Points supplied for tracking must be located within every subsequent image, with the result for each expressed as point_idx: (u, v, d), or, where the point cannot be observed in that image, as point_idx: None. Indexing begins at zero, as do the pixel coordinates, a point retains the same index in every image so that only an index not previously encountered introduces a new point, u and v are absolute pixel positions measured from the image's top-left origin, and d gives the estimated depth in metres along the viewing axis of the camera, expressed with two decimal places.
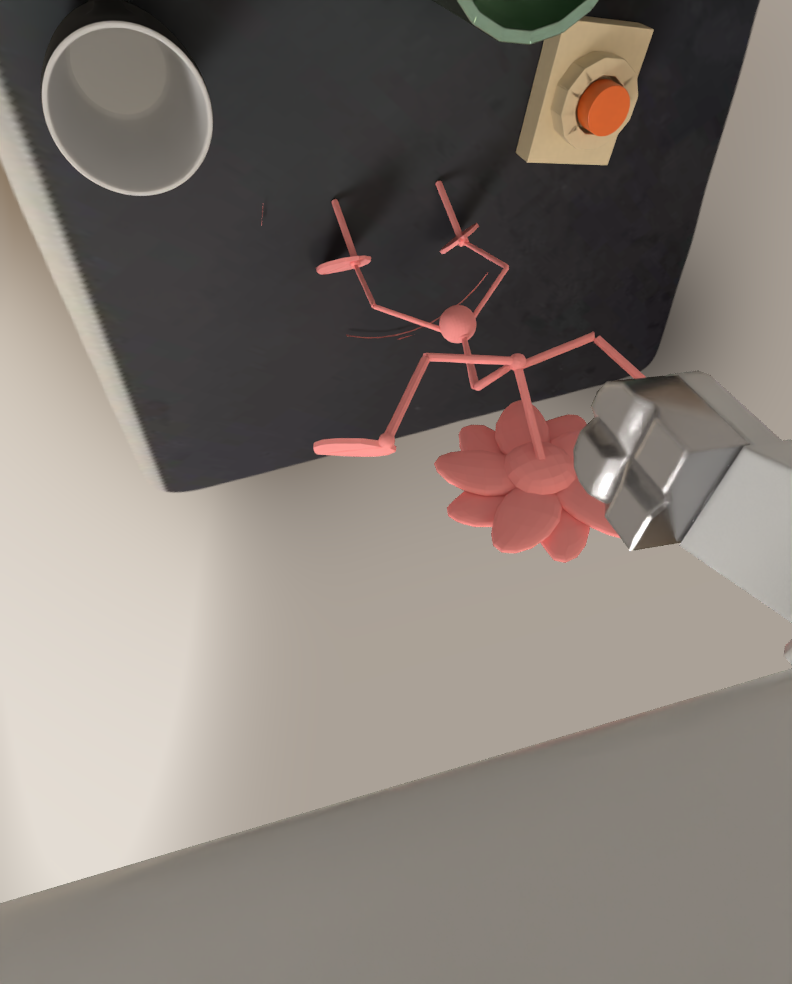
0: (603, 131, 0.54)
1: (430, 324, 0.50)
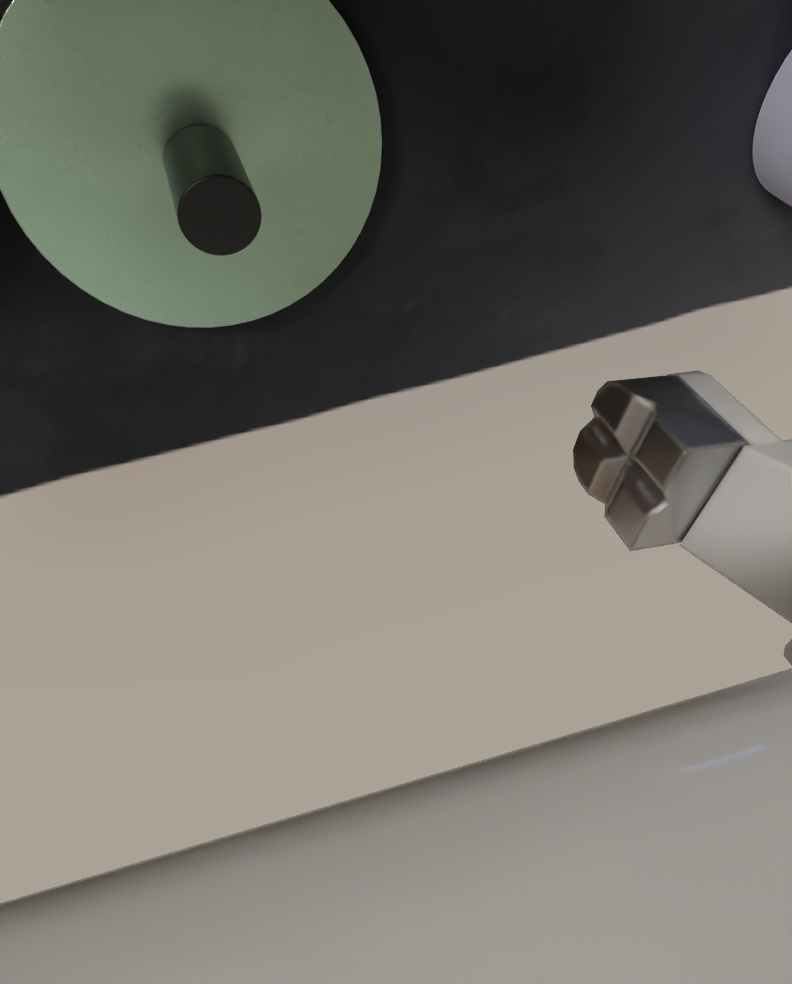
0: None
1: None
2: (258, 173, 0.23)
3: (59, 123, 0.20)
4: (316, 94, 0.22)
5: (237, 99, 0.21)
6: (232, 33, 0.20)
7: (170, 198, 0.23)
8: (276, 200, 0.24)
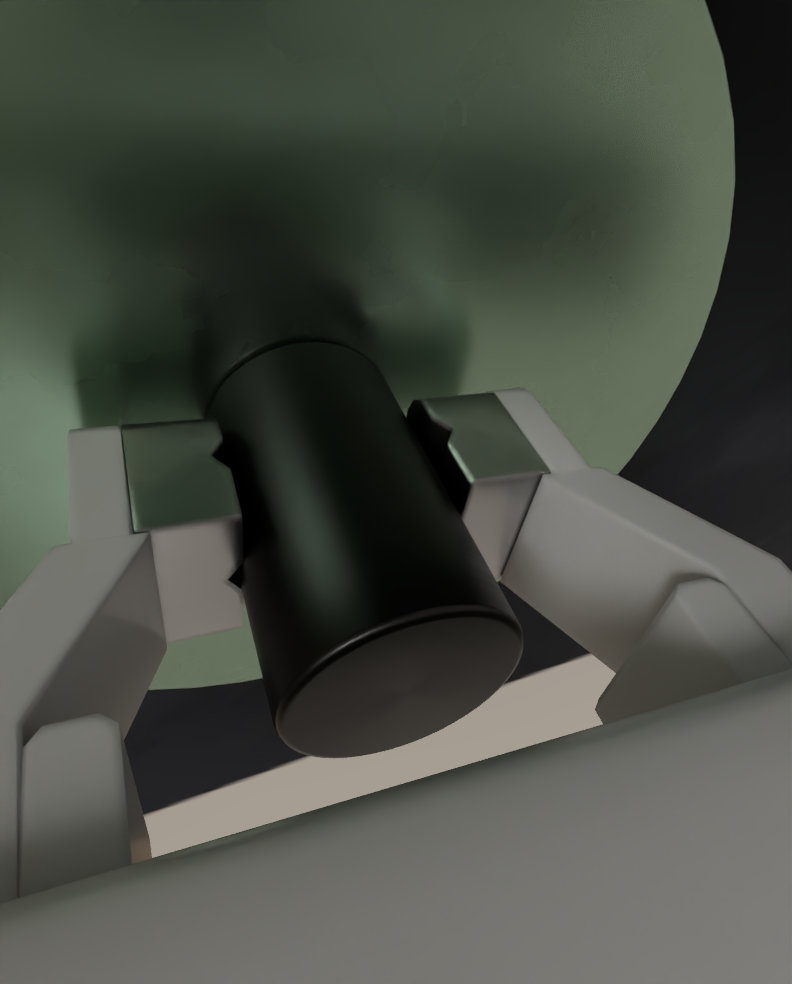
0: None
1: None
2: None
3: None
4: (601, 249, 0.09)
5: (409, 274, 0.08)
6: (428, 104, 0.07)
7: None
8: None
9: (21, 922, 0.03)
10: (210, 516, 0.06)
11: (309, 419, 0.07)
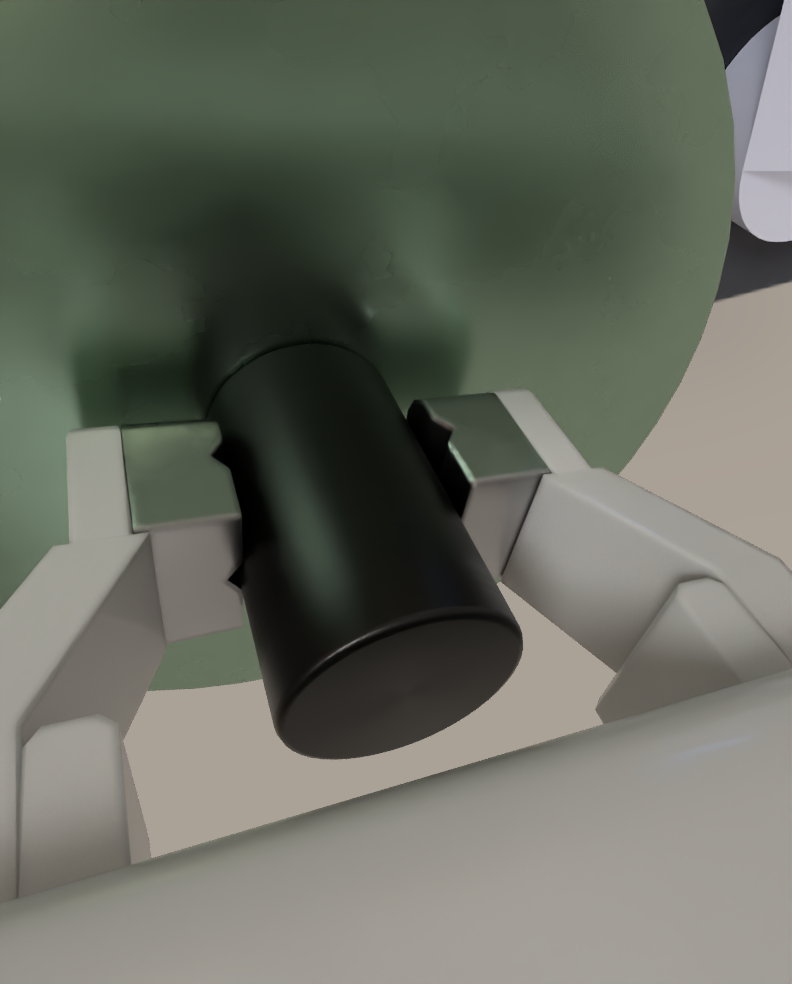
0: None
1: None
2: None
3: None
4: (600, 251, 0.09)
5: (409, 276, 0.08)
6: (428, 108, 0.07)
7: None
8: None
9: (21, 922, 0.03)
10: (209, 516, 0.06)
11: (309, 421, 0.07)
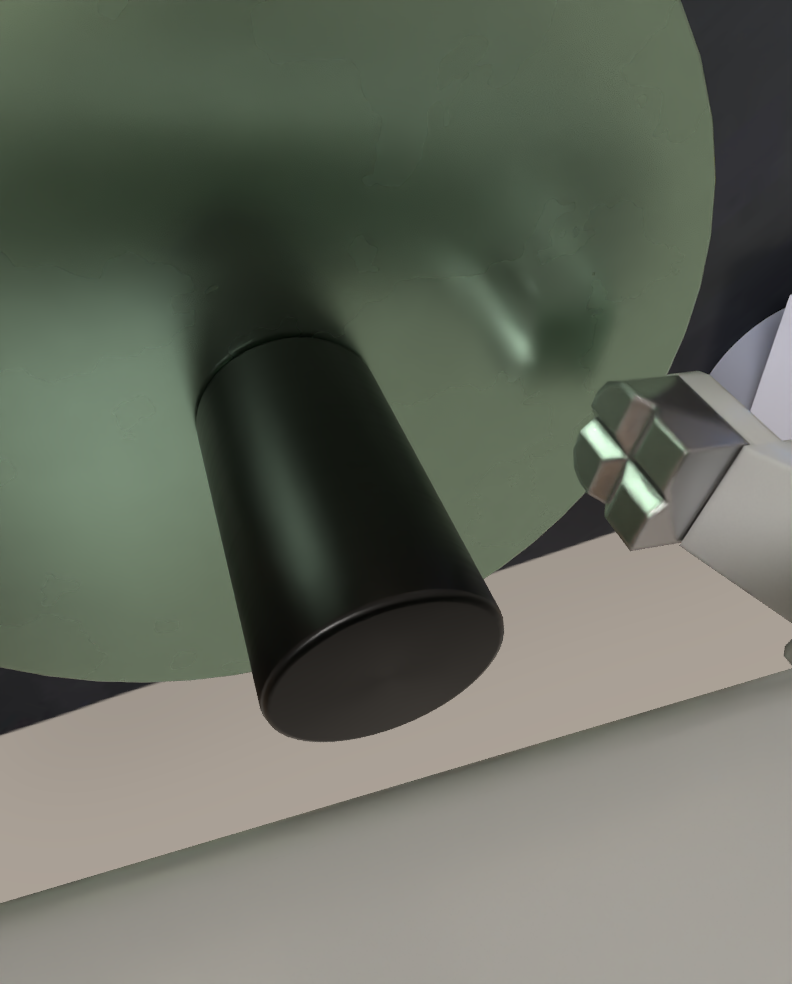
0: None
1: None
2: (415, 417, 0.10)
3: None
4: (584, 246, 0.09)
5: (395, 271, 0.08)
6: (411, 105, 0.07)
7: (207, 488, 0.09)
8: (443, 459, 0.11)
9: (21, 922, 0.03)
10: None
11: (296, 412, 0.07)
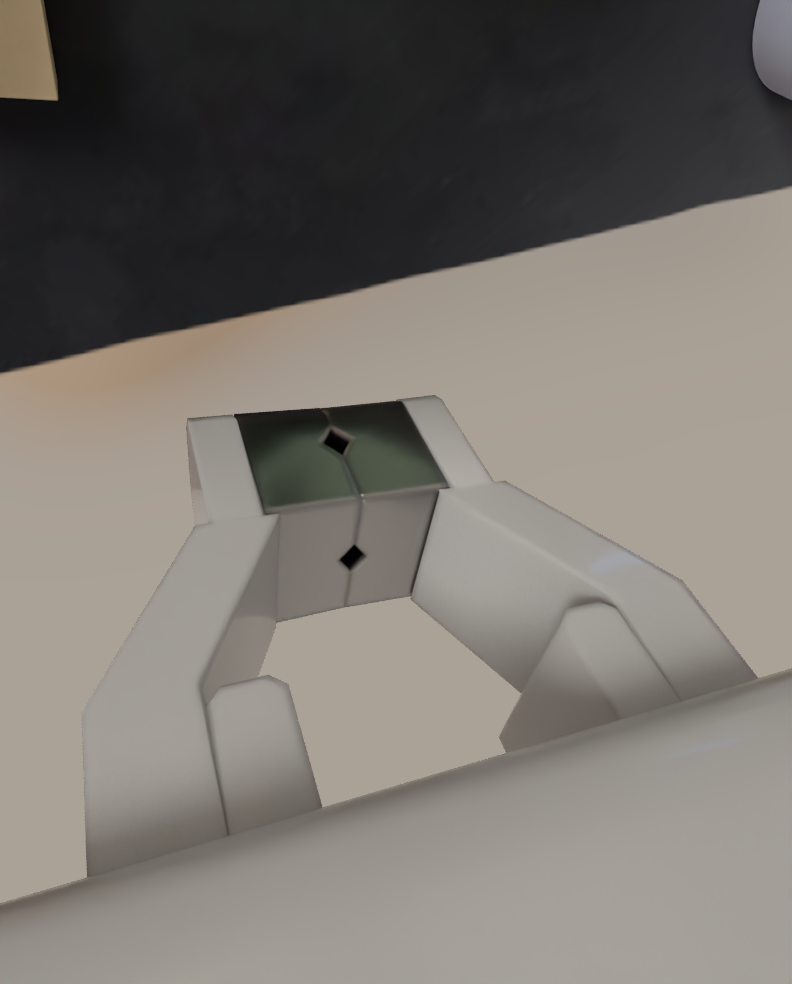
0: None
1: None
2: None
3: None
4: None
5: None
6: None
7: None
8: None
9: (21, 922, 0.03)
10: (331, 499, 0.07)
11: None
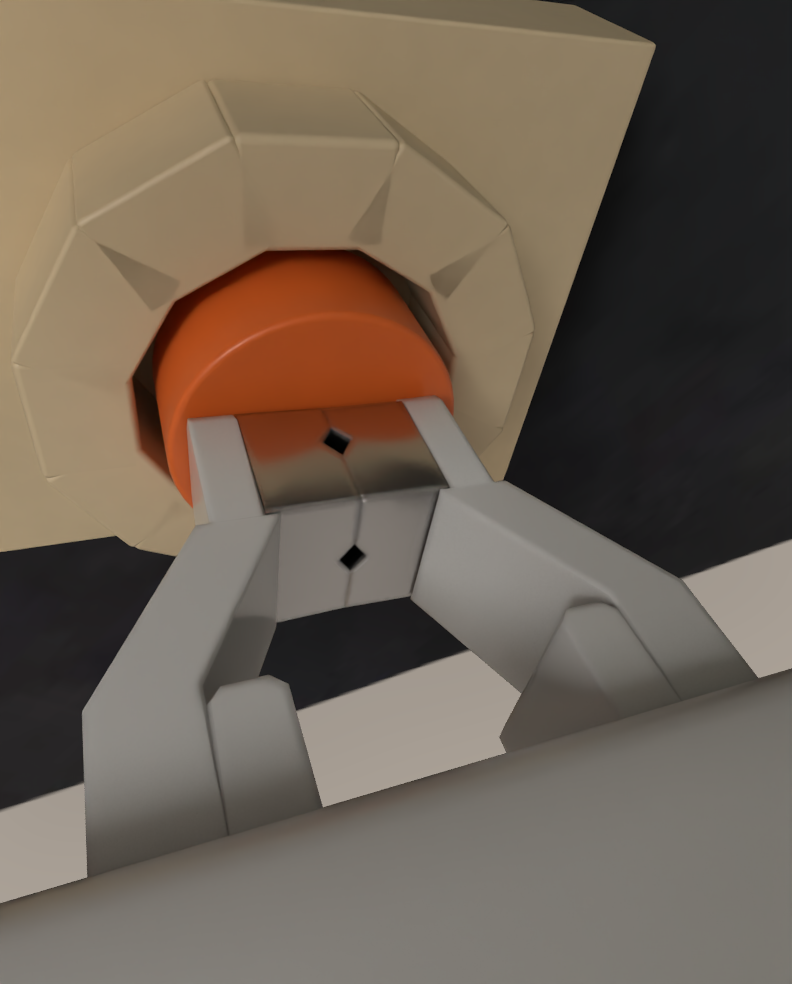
0: None
1: None
2: None
3: None
4: None
5: None
6: None
7: None
8: None
9: (21, 922, 0.03)
10: (331, 499, 0.07)
11: None
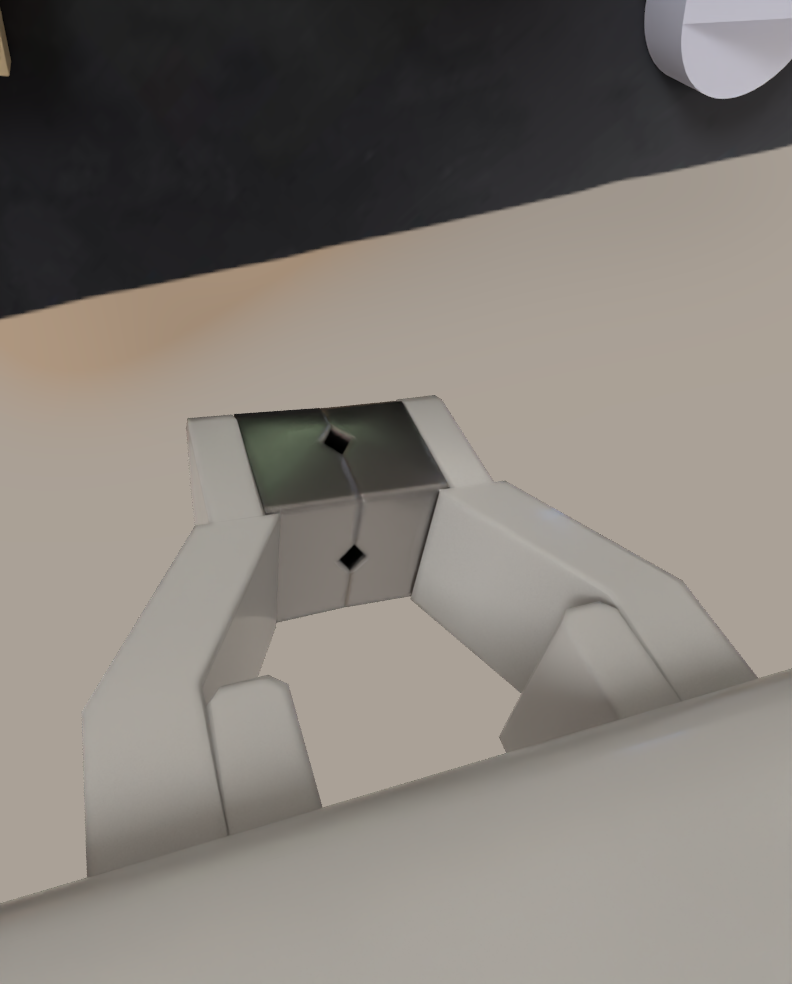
0: None
1: None
2: None
3: None
4: None
5: None
6: None
7: None
8: None
9: (21, 921, 0.03)
10: (331, 499, 0.07)
11: None
